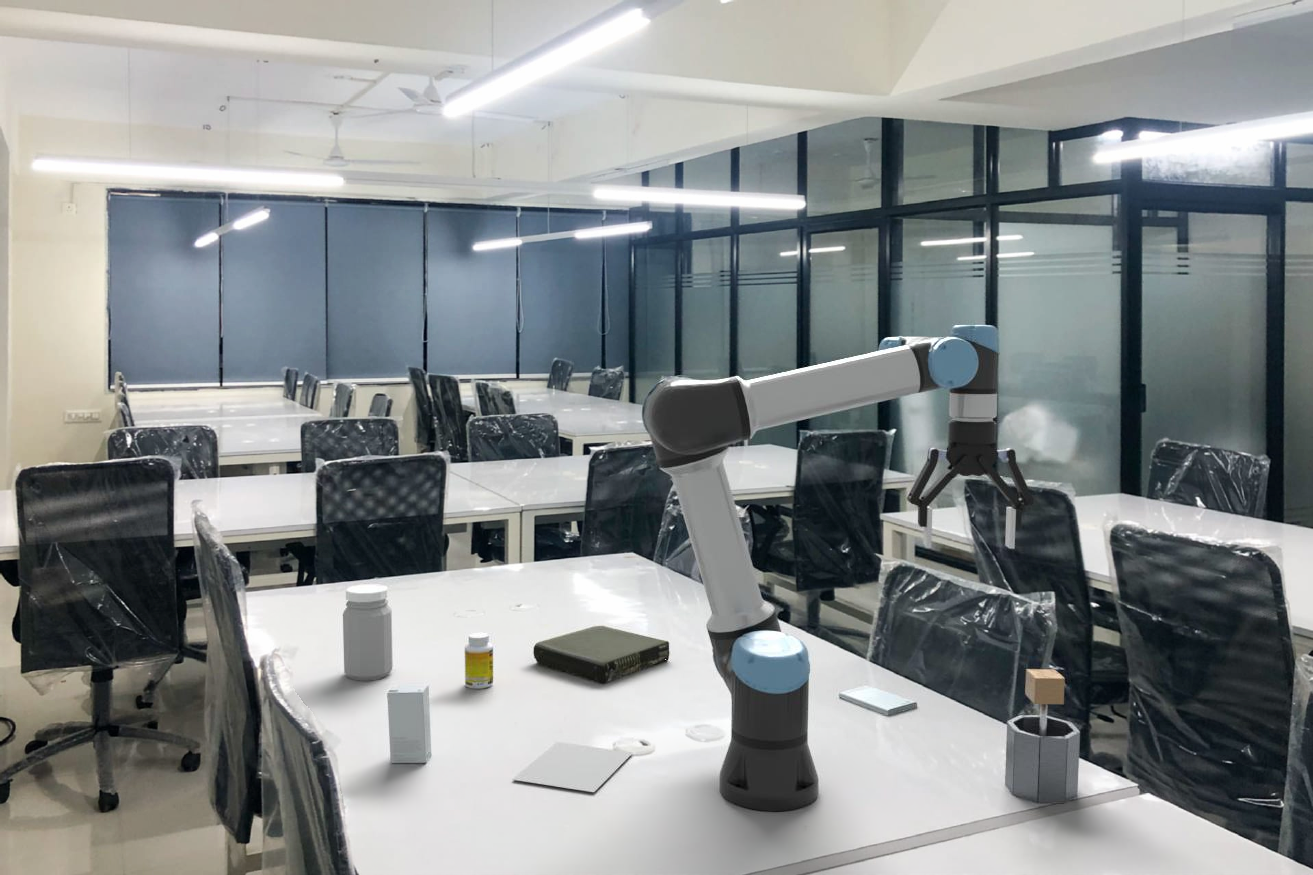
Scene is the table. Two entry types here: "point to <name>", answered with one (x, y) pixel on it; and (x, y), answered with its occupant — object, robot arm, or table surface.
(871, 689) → the hard drive
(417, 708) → the skincare box
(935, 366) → the robot arm
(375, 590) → the jar
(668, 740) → the table surface
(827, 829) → the table surface
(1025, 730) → the octagonal metal cup
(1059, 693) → the plunger
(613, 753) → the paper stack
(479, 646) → the supplement bottle
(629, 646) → the network switch
